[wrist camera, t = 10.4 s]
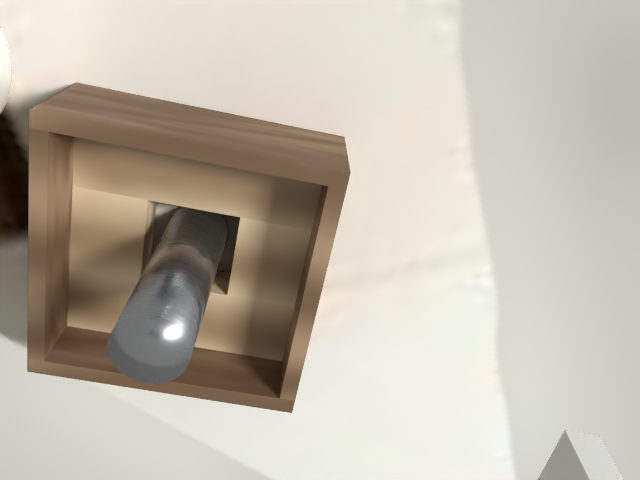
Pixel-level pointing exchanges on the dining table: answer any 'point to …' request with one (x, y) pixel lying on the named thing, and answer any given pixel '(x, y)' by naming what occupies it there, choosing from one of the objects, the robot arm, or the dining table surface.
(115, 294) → the box
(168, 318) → the peg
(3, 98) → the lidded jar
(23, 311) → the dining table surface
